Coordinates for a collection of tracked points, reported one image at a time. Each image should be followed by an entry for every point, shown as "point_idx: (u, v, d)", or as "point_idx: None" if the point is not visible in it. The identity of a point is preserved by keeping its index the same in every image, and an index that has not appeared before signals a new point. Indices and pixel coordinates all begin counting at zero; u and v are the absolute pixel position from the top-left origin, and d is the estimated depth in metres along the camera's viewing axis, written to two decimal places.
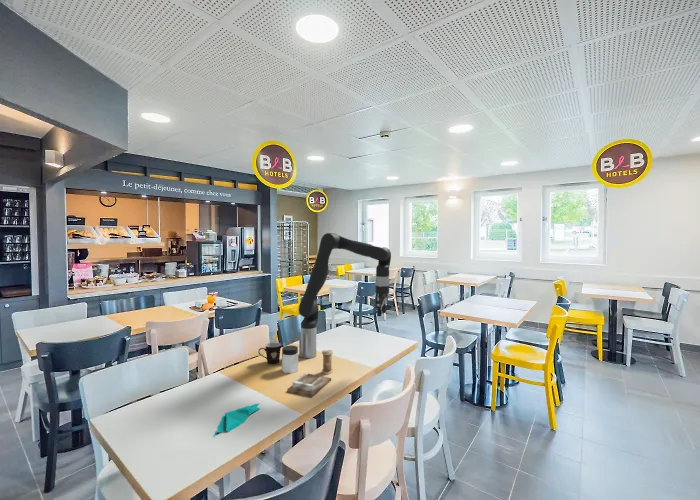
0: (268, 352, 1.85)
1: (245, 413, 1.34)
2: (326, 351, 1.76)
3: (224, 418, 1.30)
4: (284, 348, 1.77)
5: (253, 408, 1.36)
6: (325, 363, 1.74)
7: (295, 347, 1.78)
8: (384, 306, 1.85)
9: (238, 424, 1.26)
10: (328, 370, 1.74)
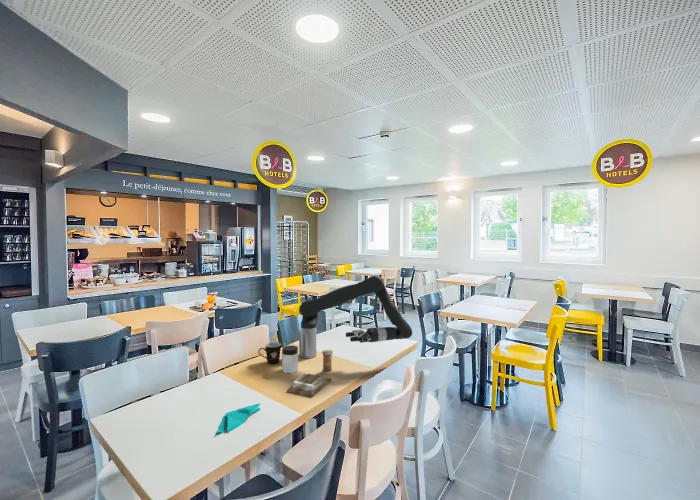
0: (268, 352, 1.85)
1: (246, 413, 1.34)
2: (326, 351, 1.76)
3: (225, 418, 1.30)
4: (284, 348, 1.77)
5: (254, 408, 1.36)
6: (325, 363, 1.74)
7: (295, 347, 1.78)
8: (352, 334, 1.84)
9: (239, 424, 1.26)
10: (328, 370, 1.74)
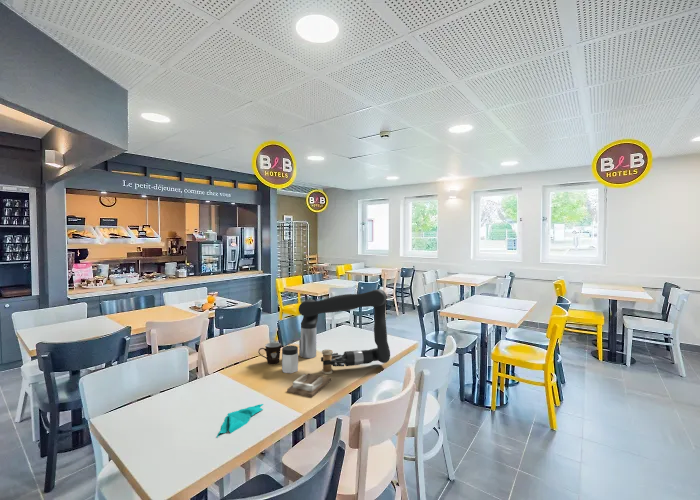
0: (268, 352, 1.85)
1: (248, 414, 1.33)
2: (326, 351, 1.76)
3: (227, 419, 1.30)
4: (284, 348, 1.77)
5: (256, 409, 1.36)
6: None
7: (295, 347, 1.78)
8: None
9: (241, 425, 1.25)
10: (328, 370, 1.74)
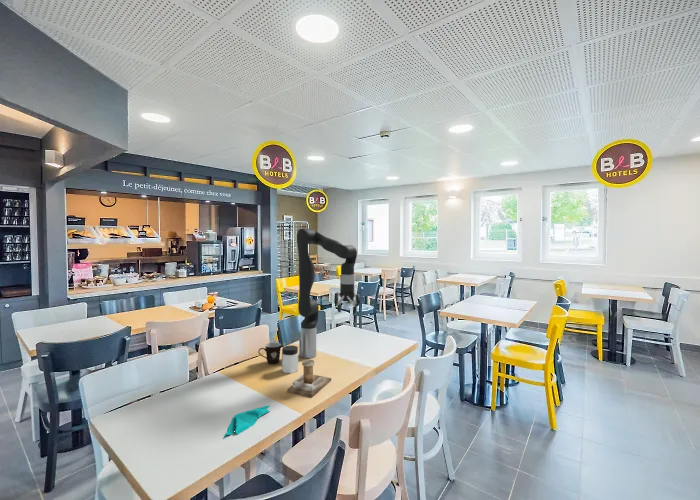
0: (268, 352, 1.85)
1: (255, 415, 1.32)
2: (307, 362, 1.57)
3: (234, 420, 1.29)
4: (284, 348, 1.77)
5: (263, 410, 1.35)
6: (305, 375, 1.56)
7: (295, 347, 1.78)
8: (340, 305, 1.82)
9: (248, 427, 1.24)
10: (309, 383, 1.56)
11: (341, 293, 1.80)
